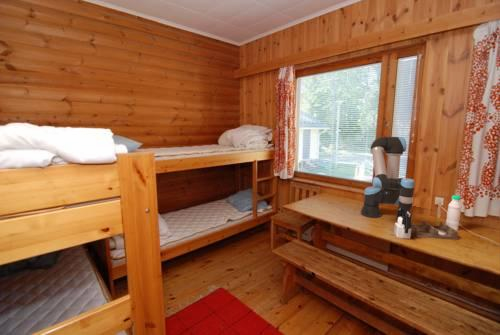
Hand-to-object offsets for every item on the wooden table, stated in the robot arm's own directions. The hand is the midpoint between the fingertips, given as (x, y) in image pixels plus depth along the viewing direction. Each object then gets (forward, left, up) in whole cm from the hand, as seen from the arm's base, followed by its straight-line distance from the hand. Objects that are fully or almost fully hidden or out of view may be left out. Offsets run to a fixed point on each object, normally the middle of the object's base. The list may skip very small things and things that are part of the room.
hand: (401, 234), depth 162 cm
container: (0, 0, -1) cm, 1 cm away
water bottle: (-15, +39, -1) cm, 42 cm away
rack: (-6, +20, -1) cm, 21 cm away
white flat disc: (-6, +26, 0) cm, 26 cm away
